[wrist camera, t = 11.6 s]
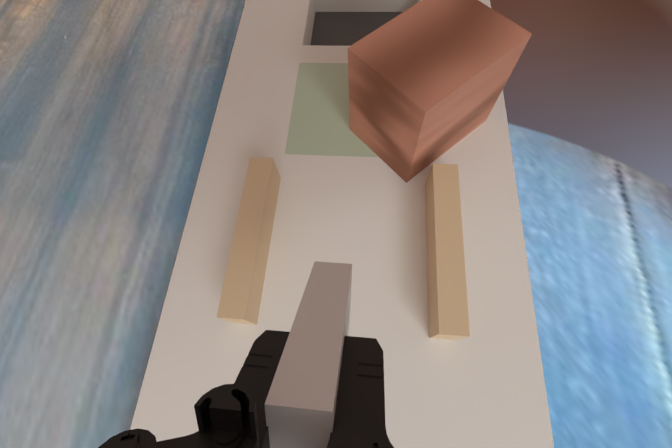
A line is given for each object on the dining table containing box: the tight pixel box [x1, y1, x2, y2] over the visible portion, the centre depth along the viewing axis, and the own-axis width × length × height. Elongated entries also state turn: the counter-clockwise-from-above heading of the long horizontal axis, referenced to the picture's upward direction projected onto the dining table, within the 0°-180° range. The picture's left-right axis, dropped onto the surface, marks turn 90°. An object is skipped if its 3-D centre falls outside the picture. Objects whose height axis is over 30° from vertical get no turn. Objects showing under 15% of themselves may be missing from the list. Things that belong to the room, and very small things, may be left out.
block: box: [348, 0, 531, 183], centre depth 22 cm, size 6×8×7 cm
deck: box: [130, 0, 554, 448], centre depth 24 cm, size 22×44×6 cm, turn 176°
